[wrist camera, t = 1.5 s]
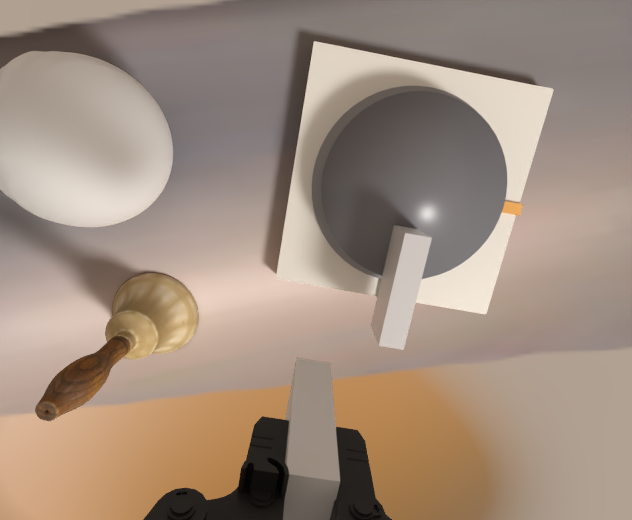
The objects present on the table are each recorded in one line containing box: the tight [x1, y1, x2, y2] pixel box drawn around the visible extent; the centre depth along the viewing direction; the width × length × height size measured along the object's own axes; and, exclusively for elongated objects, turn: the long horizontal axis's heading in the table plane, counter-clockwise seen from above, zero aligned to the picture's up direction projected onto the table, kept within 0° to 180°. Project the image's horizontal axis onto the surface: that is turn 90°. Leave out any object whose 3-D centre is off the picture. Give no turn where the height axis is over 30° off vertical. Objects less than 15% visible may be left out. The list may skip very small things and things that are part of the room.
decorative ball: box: [0, 51, 173, 227], centre depth 28 cm, size 12×12×12 cm
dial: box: [321, 91, 507, 350], centre depth 31 cm, size 20×15×6 cm
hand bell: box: [35, 273, 199, 421], centre depth 30 cm, size 8×8×16 cm
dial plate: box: [276, 41, 554, 314], centre depth 34 cm, size 20×20×2 cm
